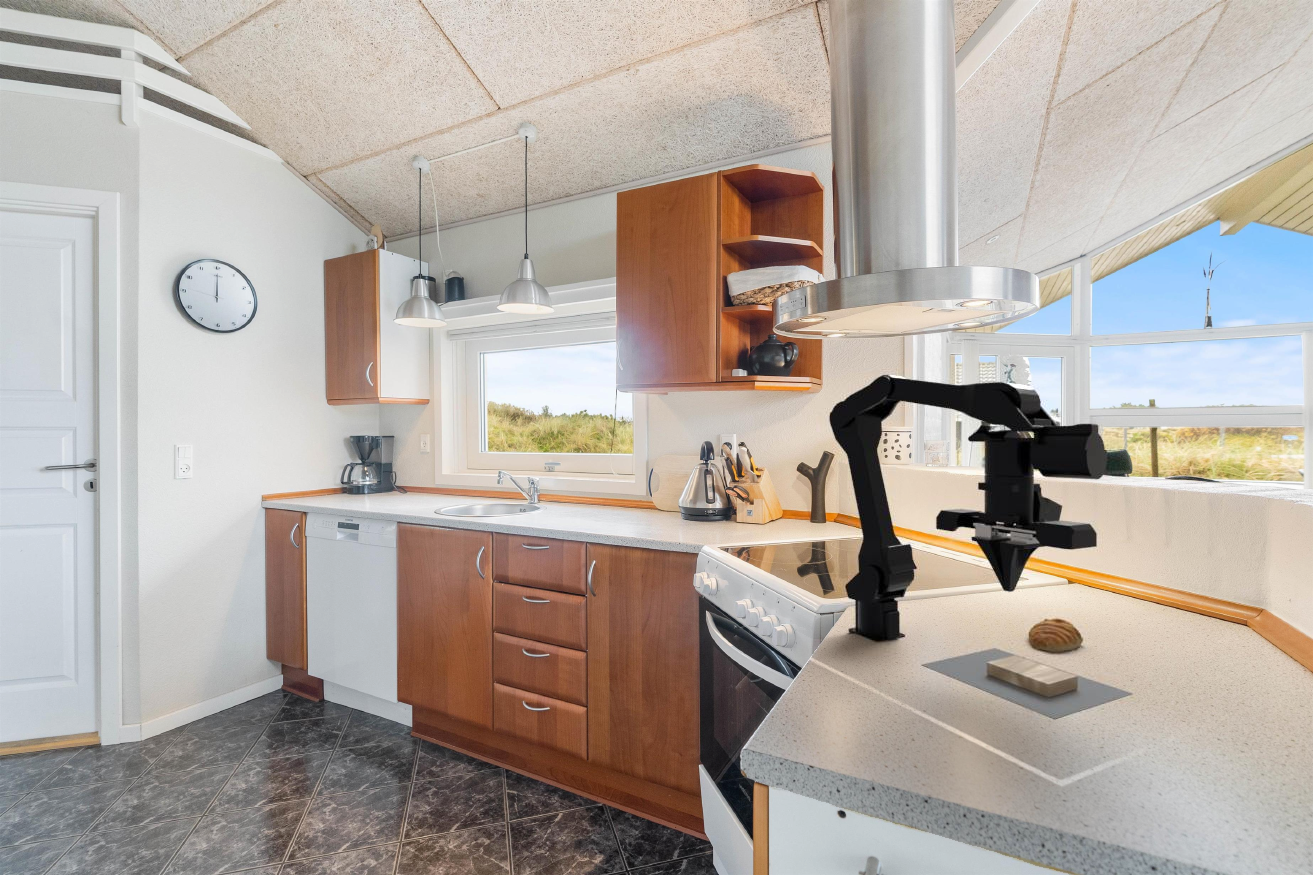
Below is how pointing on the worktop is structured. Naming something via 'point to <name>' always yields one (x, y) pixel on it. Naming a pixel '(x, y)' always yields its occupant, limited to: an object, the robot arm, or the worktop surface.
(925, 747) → the worktop surface
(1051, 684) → the tile
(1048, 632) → the pastry
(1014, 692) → the mat
